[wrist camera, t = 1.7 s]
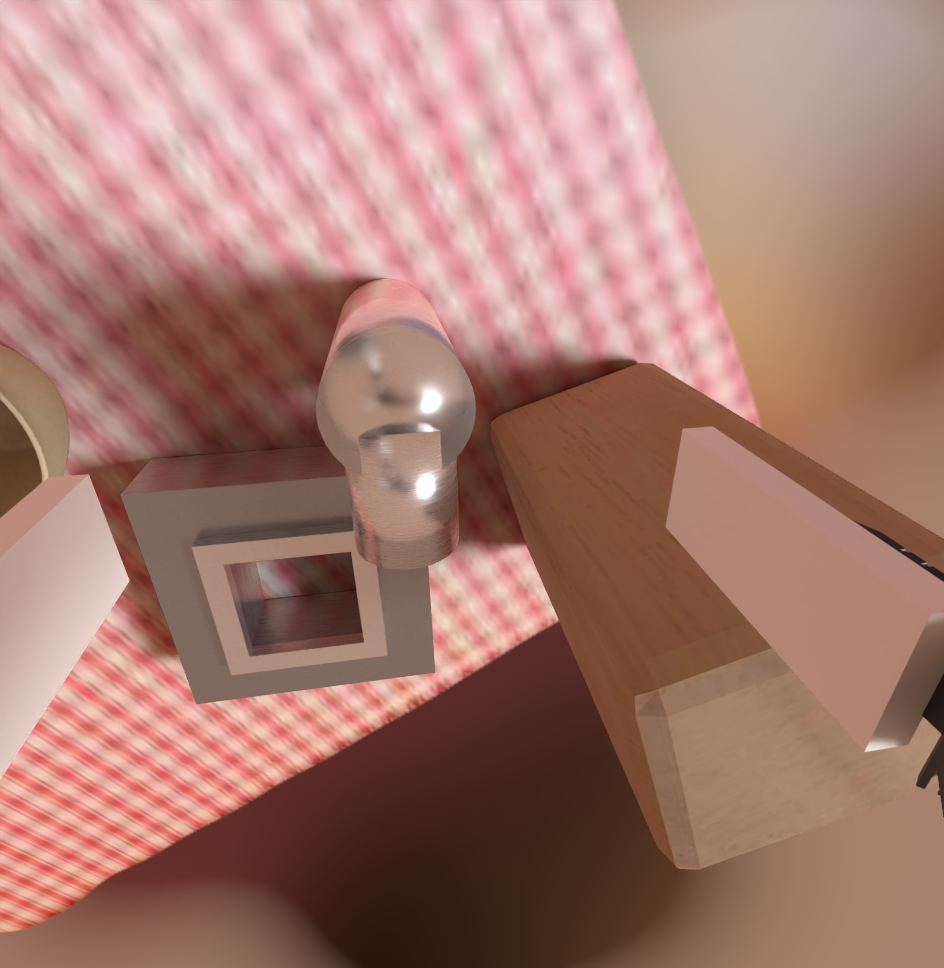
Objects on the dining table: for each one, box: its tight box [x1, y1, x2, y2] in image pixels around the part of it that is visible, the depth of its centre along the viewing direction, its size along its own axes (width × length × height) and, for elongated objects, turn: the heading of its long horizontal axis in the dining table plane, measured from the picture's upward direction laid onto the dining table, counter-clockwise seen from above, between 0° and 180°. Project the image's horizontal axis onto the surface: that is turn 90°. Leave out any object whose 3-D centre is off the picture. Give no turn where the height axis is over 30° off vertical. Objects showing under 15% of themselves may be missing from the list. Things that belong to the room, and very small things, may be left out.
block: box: [489, 363, 944, 869], centre depth 24 cm, size 10×10×20 cm
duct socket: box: [120, 445, 435, 704], centre depth 31 cm, size 14×14×5 cm
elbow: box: [316, 279, 476, 570], centre depth 23 cm, size 8×5×12 cm, turn 1°
